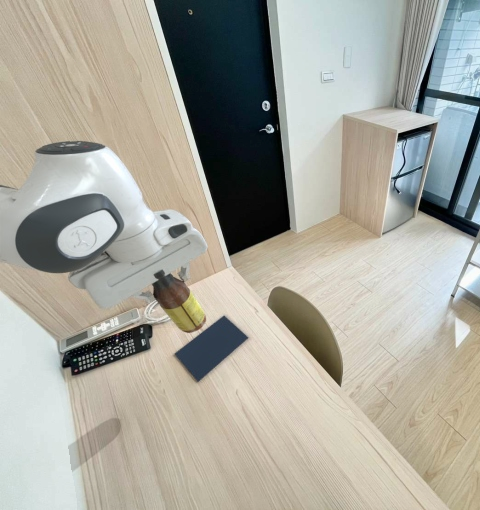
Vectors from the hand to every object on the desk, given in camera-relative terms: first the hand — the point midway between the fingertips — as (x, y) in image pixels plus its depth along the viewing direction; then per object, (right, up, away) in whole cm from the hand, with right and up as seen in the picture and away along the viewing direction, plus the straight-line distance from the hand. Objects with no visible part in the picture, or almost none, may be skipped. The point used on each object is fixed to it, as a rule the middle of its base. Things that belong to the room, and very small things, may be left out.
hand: (169, 289), depth 56 cm
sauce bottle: (0, -10, +9) cm, 13 cm away
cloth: (-1, -19, +21) cm, 29 cm away
